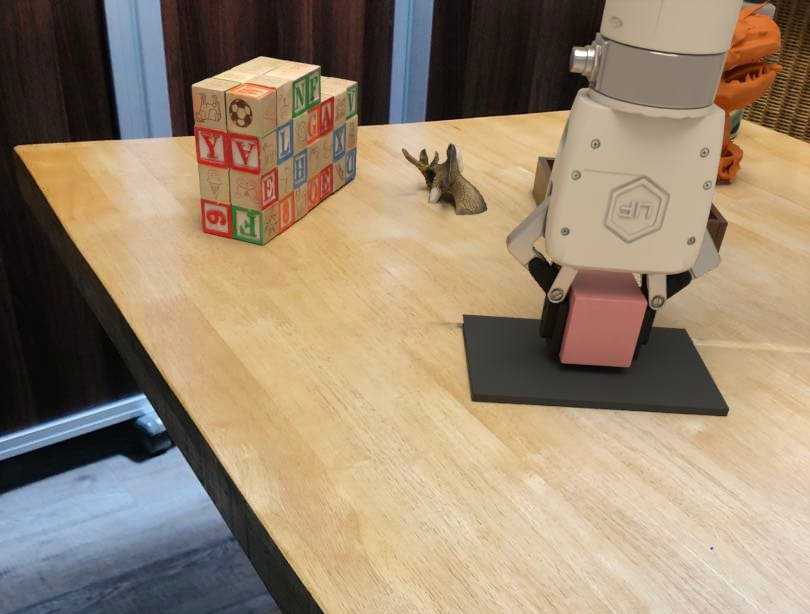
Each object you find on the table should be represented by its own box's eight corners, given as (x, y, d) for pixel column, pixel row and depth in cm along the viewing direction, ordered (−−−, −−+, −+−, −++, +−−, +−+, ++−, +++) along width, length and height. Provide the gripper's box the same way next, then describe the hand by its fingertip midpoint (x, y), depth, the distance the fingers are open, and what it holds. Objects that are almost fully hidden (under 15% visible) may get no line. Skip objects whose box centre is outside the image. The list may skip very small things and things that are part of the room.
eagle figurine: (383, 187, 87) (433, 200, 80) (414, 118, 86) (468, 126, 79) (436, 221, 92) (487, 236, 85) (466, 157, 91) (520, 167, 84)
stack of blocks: (303, 166, 93) (303, 37, 85) (357, 177, 92) (361, 47, 84) (201, 232, 78) (189, 82, 70) (264, 246, 76) (258, 95, 68)
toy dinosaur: (742, 202, 95) (803, 15, 84) (643, 184, 97) (690, -1, 86) (745, 173, 103) (801, -1, 92) (654, 157, 106) (698, -15, 94)
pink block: (616, 334, 66) (632, 271, 62) (629, 367, 62) (648, 302, 58) (551, 330, 65) (564, 267, 62) (561, 363, 61) (575, 297, 58)
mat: (683, 335, 69) (685, 328, 69) (727, 416, 60) (730, 408, 60) (461, 320, 68) (462, 313, 68) (472, 401, 59) (473, 393, 59)
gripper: (521, 79, 48) (478, 367, 60) (816, 104, 49) (717, 382, 61) (508, 49, 54) (471, 318, 66) (772, 72, 55) (689, 332, 67)
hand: (590, 346), depth 63 cm, fingers closed on pink block, 5 cm apart
